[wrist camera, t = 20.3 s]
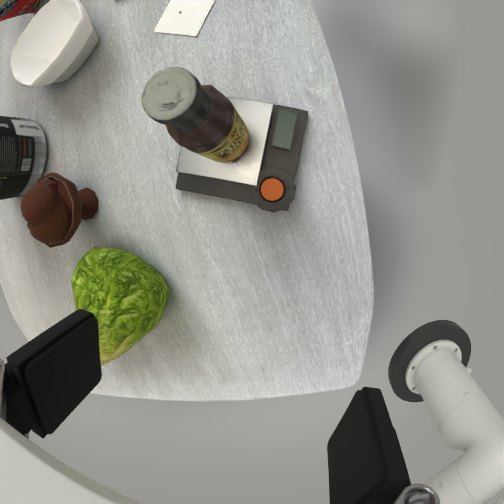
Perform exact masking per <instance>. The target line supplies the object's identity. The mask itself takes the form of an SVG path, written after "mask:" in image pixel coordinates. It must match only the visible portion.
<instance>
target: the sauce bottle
mask: <svg viewBox="0 0 504 504" xmlns="http://www.w3.org/2000/svg"><path fill="white" fill-rule="evenodd" d="M142 105H143V108H144V110H145V112H146V113H147V115H148V116H149V117H151V118H152V119H154V120H155V121H157V122H159V123H161V124H165V125H166V127H167V130H168V133H169V134H170V135H171V137H172V138H173V139H174V140H175V141H176V142H177V143H178V144H179V145H181V146H182V147H185V148H186V149H188V150H190V151H192V152H194V153H197V154H199V155H201V156H204V157H206V158H209V159H211V160H213V161H217V162H228V161H233V160H235V159H237V158H238V157H239V156H240V155H242V154H243V153H244V151H245V150H246V148H247V145H248V141H249V133H248V129H247V127H246V125H245V123H244V121H243V120H242V118H241V117H240V115H239V114H238V112H237V111H236V109H235V107H234V105H233V104H232V102H231V101H230V100H229V99H228V98H227V97H225V96H224V95H223V94H222V93H220V92H219V91H218V90H217V89H215V88H214V87H213V86H211V85H201V84H200V83H199V81H198V79H197V78H196V77H195V76H193V75H192V74H191V73H190V72H189V71H187V70H186V69H184V68H179V67H170V68H166V69H164V70H161V71H159V72H158V73H156V74H154V75H153V76H152V77H151V78H150V79H149V81H148V82H147V83H146V86H145V88H144V91H143V93H142Z"/></svg>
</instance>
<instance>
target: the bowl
mask: <svg viewBox="0 0 504 504" xmlns="http://www.w3.org/2000/svg"><path fill="white" fill-rule="evenodd" d="M98 40H99V38H98V35H97V32H96V30H95V28H94V27H93V25H92V23H91V20H90V18H89V16H88V14H87V12H86V10H85V8H84V6H83V5H82V4H81V2H80V1H79V0H50V1H49V2H48V3H47V4H46V5H44V6H43V7H42V8H41V9H40V10H39V11H38V12H37V14H36V15H35V16H34V17H33V18H32V19H31V21H30V22H29V23H28V24H27V26H26V27H25V29H24V30H23V32H22V34H21V35H20V37H19V38H18V40H17V42H16V44H15V46H14V48H13V51H12V53H11V55H10V60H11V69H12V72H13V75H14V78H15V79H16V80H17V81H18V82H19V83H20V84H22V85H23V86H27V87H31V88H34V87H38V86H43V85H48V84H52V83H58V82H64V81H67V80H68V79H69V78H70V77H71V76H72V75H73V74H74V73H75V72H76V71H77V70H78V69H79V68H80V67H81V66H82V65H83V64H84V62H85V61H86V60H87V58H88V57H89V55H90V54H91V52H92V51H93V49H94V48H95V46H96V44H97V43H98Z"/></svg>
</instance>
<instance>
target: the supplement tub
mask: <svg viewBox="0 0 504 504" xmlns="http://www.w3.org/2000/svg"><path fill="white" fill-rule="evenodd" d="M46 153H47V145H46V138H45V135H44V132H43V130H42V128H41V127H40V126H39V124H38V123H36V122H35V121H33V120H30V119H25V118H16V117H6V116H0V200H2V199H7V198H13V197H20V196H24V195H25V193H26V192H27V191H28V190H29V189H30V188H32V186H33V185H34V184H35V183H36V182H37V180H38V179H39V178H41V176H42V173H43V170H44V167H45V162H46Z"/></svg>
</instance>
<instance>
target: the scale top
mask: <svg viewBox="0 0 504 504" xmlns="http://www.w3.org/2000/svg"><path fill="white" fill-rule="evenodd" d="M227 98H228V99H229V100H230V101H231V102H232V104H233V105H234V107H235V109H236V111H237V112H238V114H239V115H240V117H241V118H242V120H243V121H244V123H245V125H246V127H247V129H248V133H249V141H248V145H247V148H246V150H245V151H244V153H243V154H242V155H240V156H239V157H238V158H237V159H235V160H233V161H228V162H217V161H213V160H211V159H209V158H206V157H204V156H201V155H199V154H197V153H194V152H192V151H190V150H188V149H186V148H185V147H182V146H181V148H180V153H179V158H178V164H177V169H176V172H181V173H187V174H193V175H199V176H205V177H211V178H216V179H222V180H227V181H233V182H238V183H243V184H248V185H253V186H257V184H258V179H259V174H260V170H261V165H262V160H263V155H264V150H265V145H266V140H267V135H268V130H269V125H270V121H271V116H272V111H273V106H274V105H273V104H271V103H265V102H259V101H252V100H245V99H238V98H230V97H227ZM297 114H298V113H296V112H291V111H286V110H280V109H279V112H278V117H277V122H276V127H275V132H274V137H273V142H272V146H275V147H280V148H285V149H291V144H292V139H293V134H294V129H295V124H296V119H297Z"/></svg>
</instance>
